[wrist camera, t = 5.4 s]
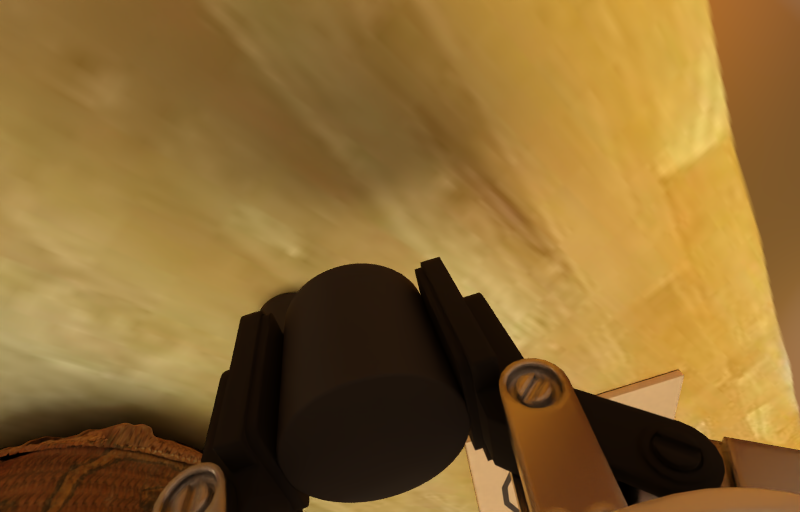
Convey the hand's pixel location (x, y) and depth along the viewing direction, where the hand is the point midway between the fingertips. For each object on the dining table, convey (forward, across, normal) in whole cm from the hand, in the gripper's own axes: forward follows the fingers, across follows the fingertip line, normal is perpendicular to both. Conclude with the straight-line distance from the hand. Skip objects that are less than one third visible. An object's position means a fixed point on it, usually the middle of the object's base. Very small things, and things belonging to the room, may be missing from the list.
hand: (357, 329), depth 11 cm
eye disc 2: (0, 0, 0) cm, 0 cm away
